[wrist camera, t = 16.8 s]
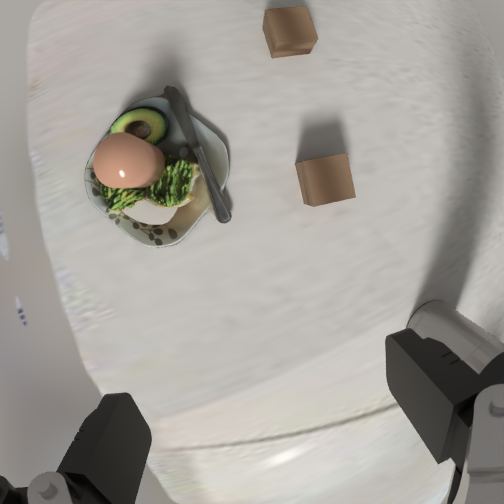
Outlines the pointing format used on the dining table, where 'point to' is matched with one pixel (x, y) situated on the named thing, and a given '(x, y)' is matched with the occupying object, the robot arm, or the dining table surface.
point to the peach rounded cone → (127, 162)
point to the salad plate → (167, 171)
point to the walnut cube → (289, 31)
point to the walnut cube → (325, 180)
